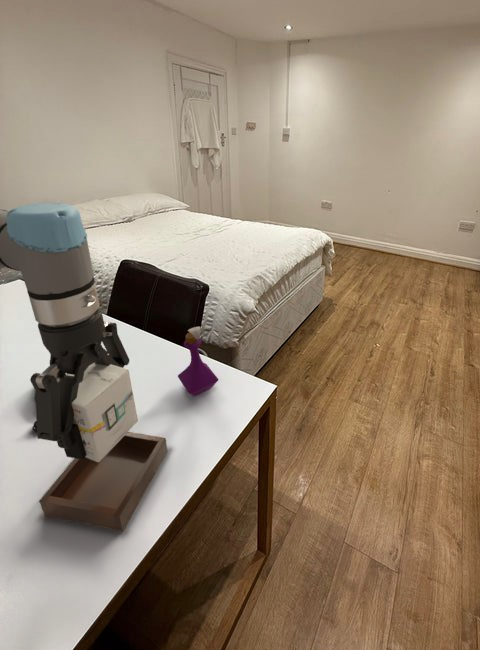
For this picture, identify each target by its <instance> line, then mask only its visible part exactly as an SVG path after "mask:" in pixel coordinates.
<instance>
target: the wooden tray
mask: <svg viewBox="0 0 480 650" xmlns="http://www.w3.org/2000/svg"><path fill="white" fill-rule="evenodd" d="M167 453H168V445H167V439H166V437H164V436H163V437H162V436H156V435H152V434H151V435H150V434H143V433H137V432H131V431H128V432H127V433H126V434H125V435H124V436H123V438H122V439H121V440H120V441H119V442H118V443H117V444H116V445H115V446H114V447H113V448H112V449H111V450H110V451H109V453H108V454H107V455H106V456H105V457H104V458H103V459H102V460H101V461H100V462H96V461H94V460H91V459H89V458H86V457H85V458H84V459H83V460H82V459H76V458H72V461H71V462H70V463H69V464H68V466H67V467H66V468H65V469H64V470H63V472H61V474H59V476H58V477H57V479H56V480H55V481H53V484H51V486H50V487H49V488H48V489H47V490H46V492H45V493H44V494H43V496H42V497H40V498H39V500H38V501H39V505H40V507H41V510H42V513H43V515H44V517H49V518H55V519H59V520H65V521H70V522H74V523H79V524H84V525H89V526H94V527H99V528H105V529H108V530H114V531H120V532H124V530H125V529H126V527H127V525H128V524H129V522H130V520H131V518H132V516H133V514H134V513H135V511H136V509H137V507H138V505H139V504H140V502H141V501H142V498H143V496H144V495H145V493H146V491H147V490H148V487H149V486H150V484H151V482H152V481H153V479H154V477H155V474H157V471H158V470H159V468H160V466H161V465H162V462H163V460H164V459H165V457H166V455H167Z"/></svg>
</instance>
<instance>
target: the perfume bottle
mask: <svg viewBox="0 0 480 650" xmlns="http://www.w3.org/2000/svg"><path fill="white" fill-rule="evenodd" d="M201 331H202V328H201V326H194V327H191V328H189V329H188V330H187V332H188V333H186V335H185V338H184V339H185V340H184V341H183V347H184V348H186V349H188V351H189V353H190V363H189V365H187V367H186V368H185V369H184V370H183V371H181V372H180V373H179V374H177V378H178V379H179V381H180V382H181V384H182V386H183V387H184V389H185V390H186V392H187V393H188V395H190V396H192V397H197V396H200V395H201V394H204V393H205V392H207V391H209V390H211V389H212V388H213V386H215V385H216V384H217V383H218V382H219V378H218V377H217V375H216V374H215V373H214V371H213V370H212V369H211V368H210V366H209V365H208V364H207V363H206V362H204V361H203V359H202V358H201V356H200V352H199V347H200V346H201V344H202V339H201V338H200V337H201Z"/></svg>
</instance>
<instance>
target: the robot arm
mask: <svg viewBox="0 0 480 650" xmlns="http://www.w3.org/2000/svg"><path fill="white" fill-rule="evenodd" d="M89 248H90V247H89V243H88V233H87V231H86V229H85V227H84V224H83V220H82V217H81V213H80V211H79V210H78V208H77V207H75V206H73V205H71V204H69V203H63V202H57V203H56V202H55V203H54V202H41V203H40V202H38V203H31V204H24V205H19V206H16V207H13V208H11V209H9V210H7V209H0V269H4V268H6V269H10V270H13V271H16V272H20V273H21V275H22V279H23V282H24V285H25V287H26V292H27V295H28V299H29V302H30V305H31V309H32V312H33V316H34V319H35V321H36V322H37V328H38V331H39V334H40V338H41V342H42V345H43V347H45V349H46V350H47V351H48V352H49V354H50V357H49V358H50V359H49V366H48V367H47V368H45V369H44V370H43V371H42V372H41V373H39V372H35V373H33V374H32V375H31V376H30V379H29V381H30V383H31V385H32V386H33V389H34V396H35V395H36V402H35V414H36V415H35V416H36V417H35V418H36V420H37V429H36V430H37V431H36V432H37V434H36V436H37V439H38V440H44V441H50V442H51V441H52V442H56V443H57V447H58V448H60V449H63V450H64V453H65V456H66V457H67V458H71V459H74V458H76V459H82V460H83V459H84V458H85V456H86V452H85V448H84V445H83V441H82V438H81V434H80V431H79V427H78V424H73V418H74V411H73V407H72V402H73V401H74V400H75V399H76V398H77V393H78V387H79V383H80V382H82V381H83V376H84V371H85V370H86V369H87V368H88V366H89V365H91V364H93V363H95V364H100V365H107V366H109V365H110V364H112V365H115V366H118V367H122V368H125V366H128V365H129V364H130V358H129V356H128V354H127V351H126V348H125V347H124V345H123V342H122V340H121V338H120V335H119V333H118V325H117V324H118V323H116V322H111V321H104V317H103V316H104V315H103V312H102V309H101V307H100V305H101V304H100V299H99V295H98V290H97V285H96V280H95V274H94V269H93V263H92V258H91V253H90V249H89ZM66 374H73V375H74V376H68V375H66Z"/></svg>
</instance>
